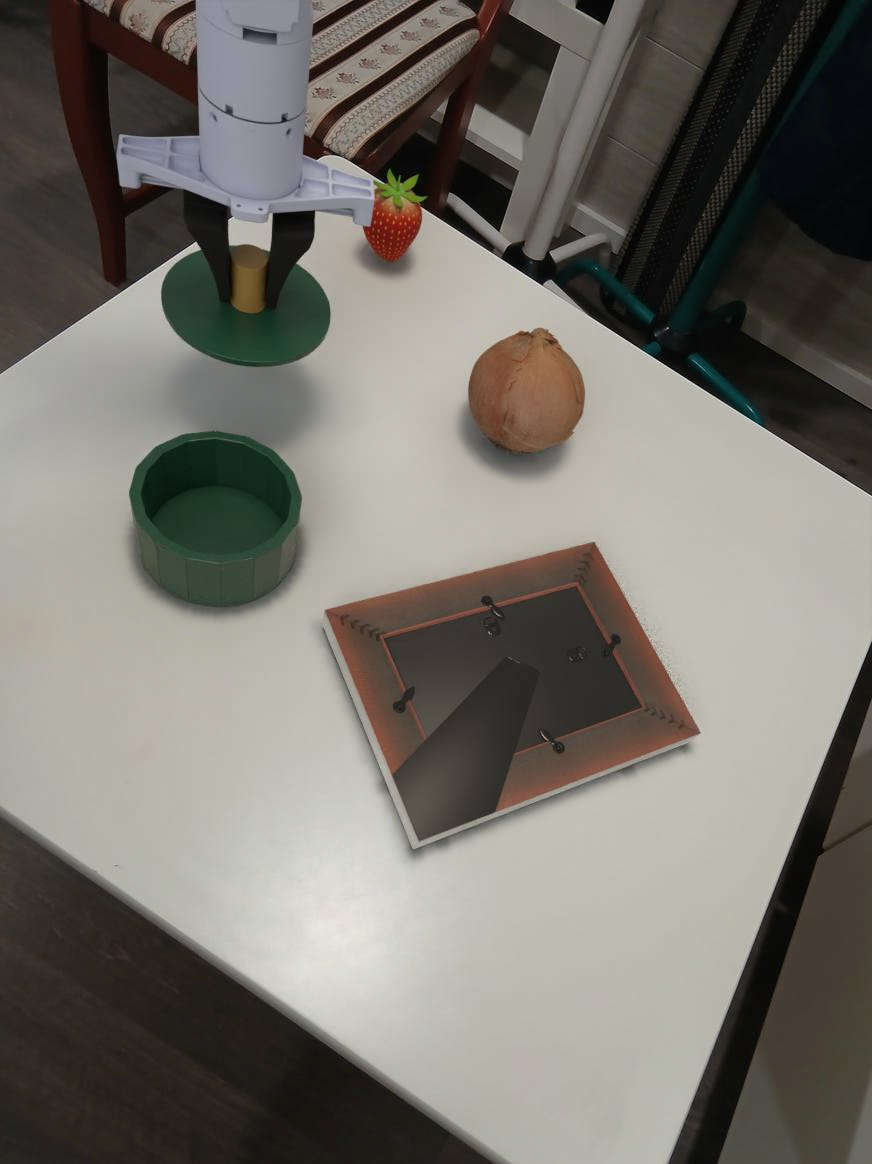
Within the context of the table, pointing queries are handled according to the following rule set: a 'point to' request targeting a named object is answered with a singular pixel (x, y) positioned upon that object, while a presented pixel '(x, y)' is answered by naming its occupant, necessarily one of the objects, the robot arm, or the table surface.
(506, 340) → the onion
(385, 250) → the fruit
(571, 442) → the table surface
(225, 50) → the robot arm
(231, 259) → the tin lid
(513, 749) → the picture frame
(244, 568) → the tea tin
